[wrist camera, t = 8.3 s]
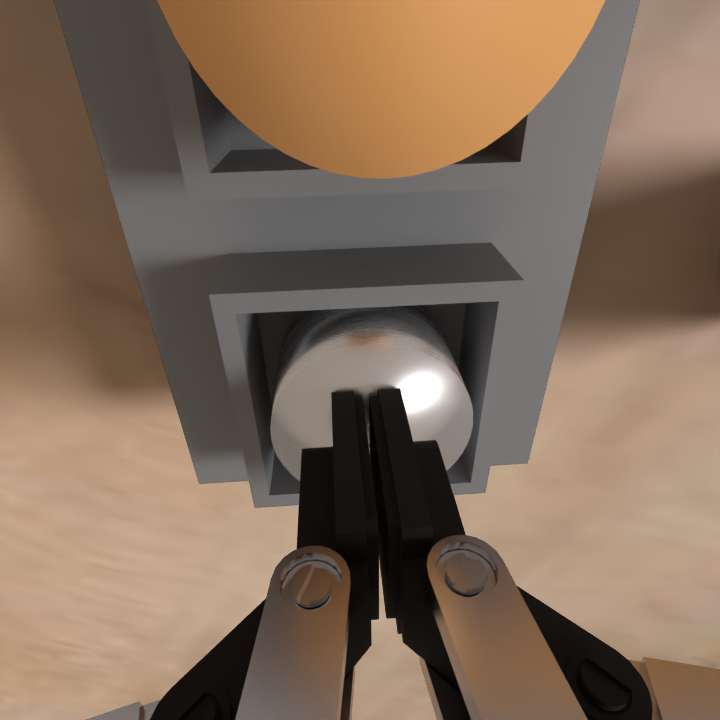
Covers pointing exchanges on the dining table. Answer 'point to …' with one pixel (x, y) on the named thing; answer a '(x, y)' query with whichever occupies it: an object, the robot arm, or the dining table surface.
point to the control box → (336, 239)
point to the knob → (367, 378)
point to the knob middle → (380, 73)
